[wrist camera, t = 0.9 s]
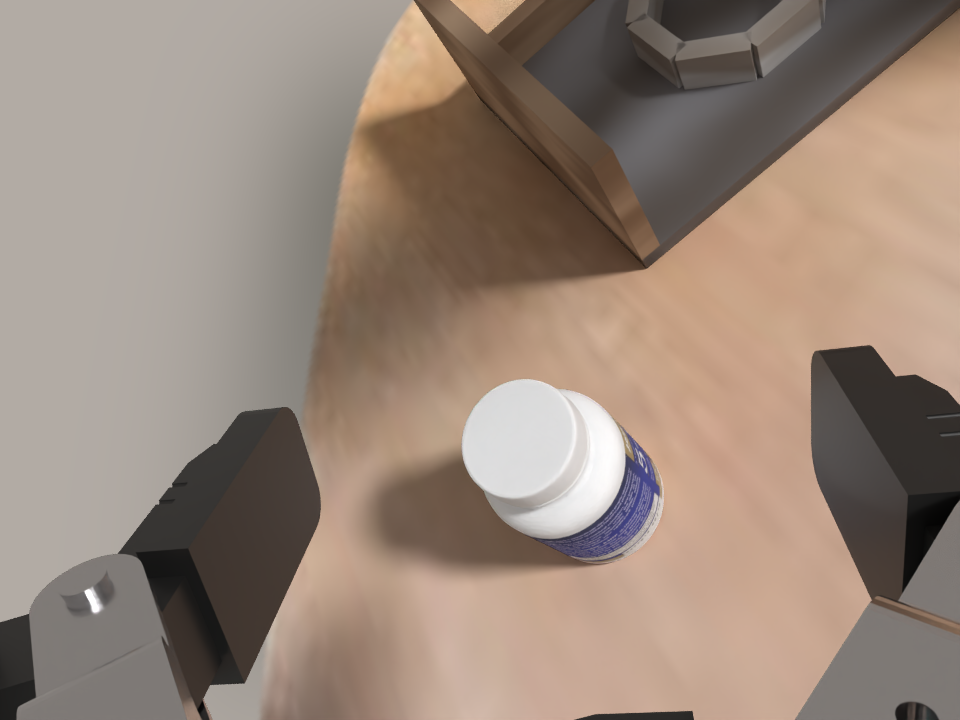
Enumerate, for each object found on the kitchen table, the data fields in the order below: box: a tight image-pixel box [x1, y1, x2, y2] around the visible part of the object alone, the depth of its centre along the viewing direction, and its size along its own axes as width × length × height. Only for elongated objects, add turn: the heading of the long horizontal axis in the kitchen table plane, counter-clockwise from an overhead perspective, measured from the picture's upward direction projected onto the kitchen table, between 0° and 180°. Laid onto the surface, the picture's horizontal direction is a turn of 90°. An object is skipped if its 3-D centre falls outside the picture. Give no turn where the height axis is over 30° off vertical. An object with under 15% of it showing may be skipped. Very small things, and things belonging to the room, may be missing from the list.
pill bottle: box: [462, 379, 664, 564], centre depth 29 cm, size 5×5×9 cm
